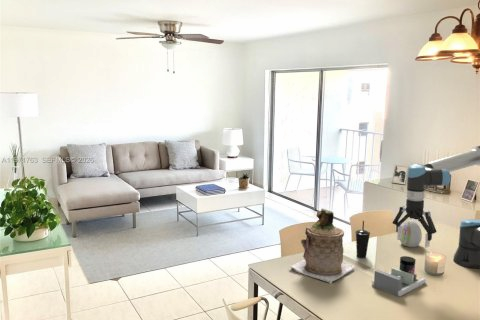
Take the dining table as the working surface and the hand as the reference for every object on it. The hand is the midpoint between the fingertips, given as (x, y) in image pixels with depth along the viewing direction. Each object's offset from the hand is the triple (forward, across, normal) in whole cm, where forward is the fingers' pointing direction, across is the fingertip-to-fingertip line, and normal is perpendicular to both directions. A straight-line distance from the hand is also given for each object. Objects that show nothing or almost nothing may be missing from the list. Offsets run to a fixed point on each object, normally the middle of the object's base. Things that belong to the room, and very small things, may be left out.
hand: (412, 243), depth 193 cm
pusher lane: (+17, 0, -11) cm, 20 cm away
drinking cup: (+18, -31, +5) cm, 36 cm away
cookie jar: (+17, -33, -26) cm, 45 cm away
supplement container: (+17, 0, -4) cm, 18 cm away
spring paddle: (+17, 0, -10) cm, 20 cm away
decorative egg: (+18, -24, +43) cm, 52 cm away
